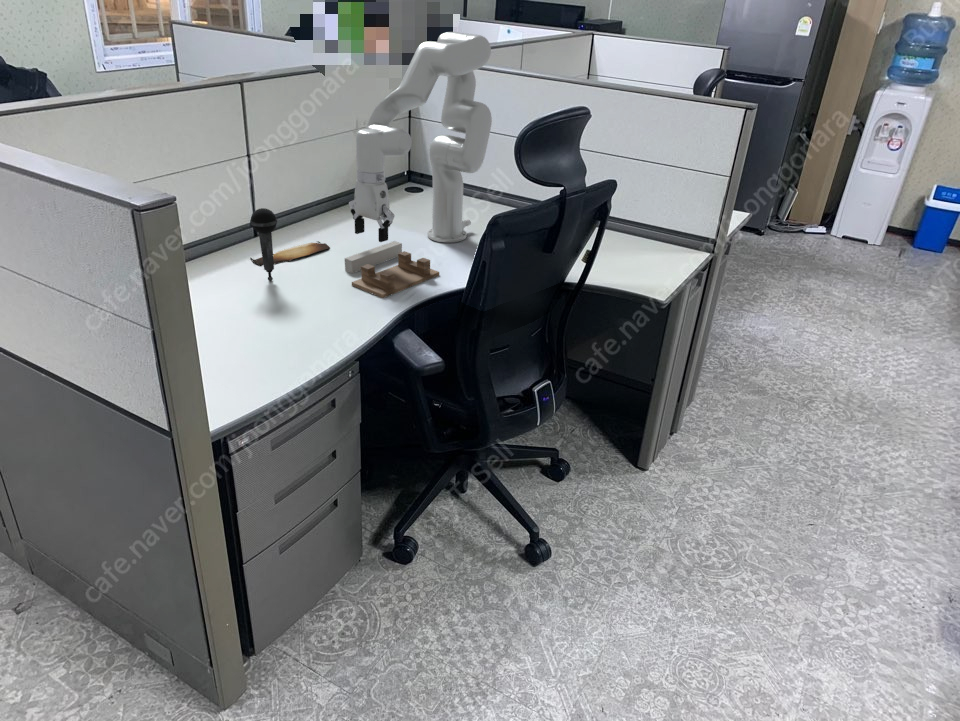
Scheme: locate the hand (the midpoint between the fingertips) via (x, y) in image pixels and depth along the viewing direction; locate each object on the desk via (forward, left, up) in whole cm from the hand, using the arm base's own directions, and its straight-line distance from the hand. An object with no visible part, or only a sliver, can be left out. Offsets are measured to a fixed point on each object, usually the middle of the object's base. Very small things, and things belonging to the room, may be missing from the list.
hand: (371, 236), depth 205 cm
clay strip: (-1, 0, -8) cm, 8 cm away
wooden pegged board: (+4, +14, -8) cm, 17 cm away
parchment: (+11, -22, -9) cm, 26 cm away
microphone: (+28, -10, -8) cm, 31 cm away
